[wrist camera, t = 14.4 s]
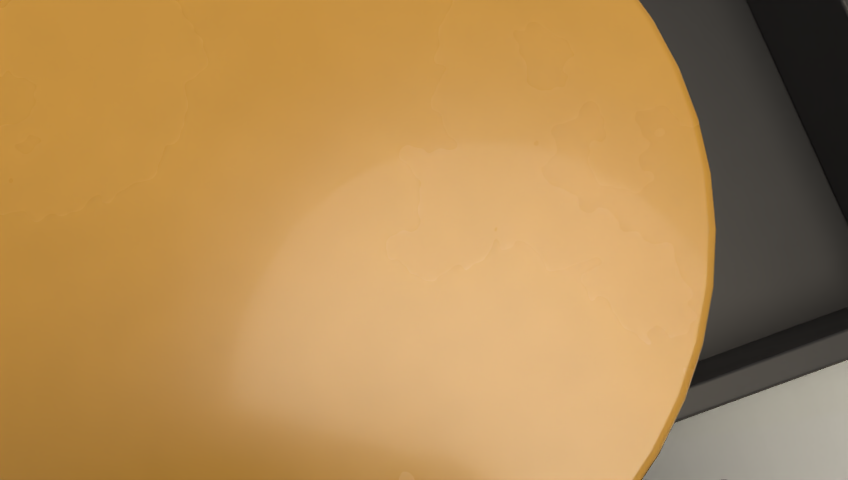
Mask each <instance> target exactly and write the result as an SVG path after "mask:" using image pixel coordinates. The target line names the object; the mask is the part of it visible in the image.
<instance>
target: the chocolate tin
mask: <svg viewBox="0 0 848 480" xmlns="http://www.w3.org/2000/svg"><path fill="white" fill-rule="evenodd" d="M715 243H716V224H715V213H714V202H713V191H712V180H711V172H710V167H709V163H708V159H707V154H706V150H705V146H704V141H703V137H702V133H701V128H700V124H699V120H698V117H697V114H696V112H695V109H694V106H693V104H692V101H691V98H690V96H689V93H688V90H687V88H686V85H685V82H684V80H683V77H682V74H681V72H680V69H679V67H678V65H677V63H676V61H675V59H674V58H673V56H672V54H671V52H670V50H669V48H668V47H667V45H666V43H665V41H664V39H663V37H662V35H661V34H660V32H659V30H658V28H657V26H656V24H655V22H654V21H653V19H652V18H651V16H650V15H649V14H648V12H647V11H646V9H645V8H644V7H643V5H642V4H641V3H640V1H639V0H0V480H642V479H643V477H644V476H645V474H646V473H647V471H648V470H649V468H650V467H651V465H652V464H653V462H654V461H655V459H656V458H657V456H658V455H659V453H660V451H661V449H662V447H663V445H664V443H665V441H666V438H667V436H668V434H669V432H670V430H671V428H672V426H673V424H674V422H675V420H676V418H677V416H678V414H679V412H680V409H681V407H682V405H683V403H684V401H685V399H686V396H687V392H688V389H689V386H690V383H691V380H692V377H693V374H694V371H695V368H696V365H697V362H698V359H699V356H700V353H701V350H702V346H703V343H704V337H705V332H706V326H707V321H708V315H709V310H710V304H711V298H712V293H713V287H714V266H715Z"/></svg>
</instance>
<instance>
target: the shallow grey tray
mask: <svg viewBox="0 0 848 480" xmlns="http://www.w3.org/2000/svg"><path fill="white" fill-rule="evenodd" d="M639 1H640V3H641V4H642V5H643V7H644V8H645V9H646V11H647V12H648V14H649V15H650V16H651V18H652V19H653V21H654V22H655V24H656V26H657V28H658V30H659V32H660V34H661V35H662V37H663V39H664V41H665V43H666V45H667V47H668V48H669V50H670V52H671V54H672V56H673V58H674V59H675V61H676V63H677V65H678V67H679V69H680V72H681V74H682V77H683V80H684V82H685V85H686V88H687V90H688V93H689V96H690V98H691V101H692V104H693V106H694V109H695V112H696V114H697V117H698V120H699V124H700V128H701V133H702V137H703V141H704V146H705V150H706V154H707V159H708V163H709V167H710V172H711V180H712V191H713V202H714V213H715V224H716V243H715V266H714V287H713V293H712V298H711V304H710V310H709V315H708V321H707V326H706V332H705V337H704V343H703V346H702V350H701V353H700V356H699V359H698V362H697V365H696V368H695V371H694V374H693V377H692V380H691V383H690V386H689V389H688V392H687V396H686V399H685V401H684V403H683V405H682V407H681V409H680V412H679V414H678V416H677V418H676V420H675V422H678V421H681V420H683V419H686V418H689V417H692V416H694V415H697V414H700V413H703V412H705V411H708V410H711V409H714V408H716V407H719V406H722V405H725V404H727V403H730V402H733V401H736V400H738V399H741V398H744V397H747V396H749V395H752V394H755V393H758V392H760V391H763V390H766V389H769V388H771V387H774V386H777V385H780V384H782V383H785V382H788V381H791V380H793V379H796V378H799V377H802V376H804V375H807V374H810V373H813V372H815V371H818V370H821V369H824V368H826V367H829V366H832V365H835V364H837V363H840V362H843V361H846V360H848V0H639ZM675 422H674V423H675Z"/></svg>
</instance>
